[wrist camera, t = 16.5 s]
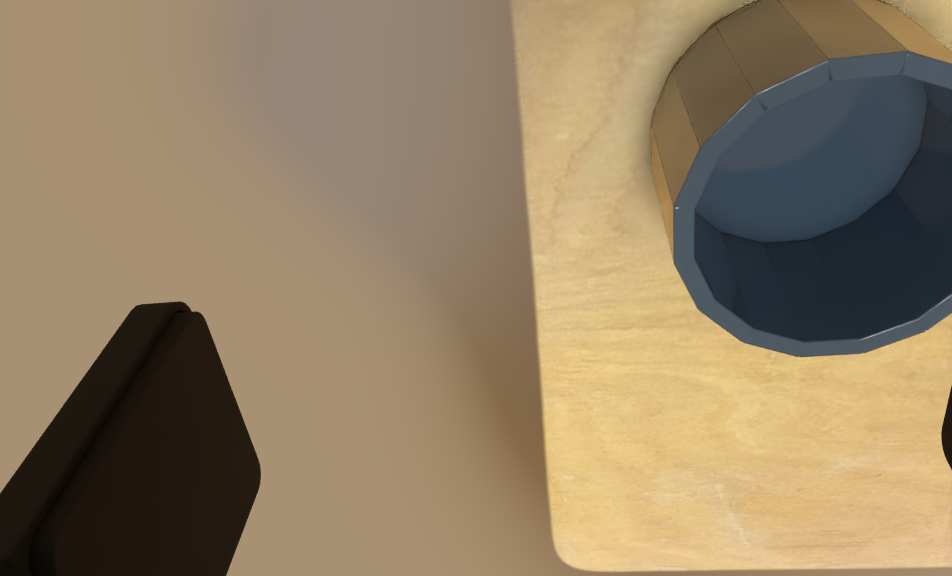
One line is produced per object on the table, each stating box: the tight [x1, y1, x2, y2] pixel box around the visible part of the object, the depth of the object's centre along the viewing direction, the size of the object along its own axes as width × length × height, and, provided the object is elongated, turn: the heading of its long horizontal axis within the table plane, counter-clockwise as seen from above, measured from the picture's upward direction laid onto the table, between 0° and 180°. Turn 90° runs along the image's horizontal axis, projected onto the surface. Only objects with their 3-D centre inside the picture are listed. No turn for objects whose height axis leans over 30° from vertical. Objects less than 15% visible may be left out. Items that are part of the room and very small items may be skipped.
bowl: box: [651, 0, 952, 357], centre depth 34 cm, size 13×13×8 cm
